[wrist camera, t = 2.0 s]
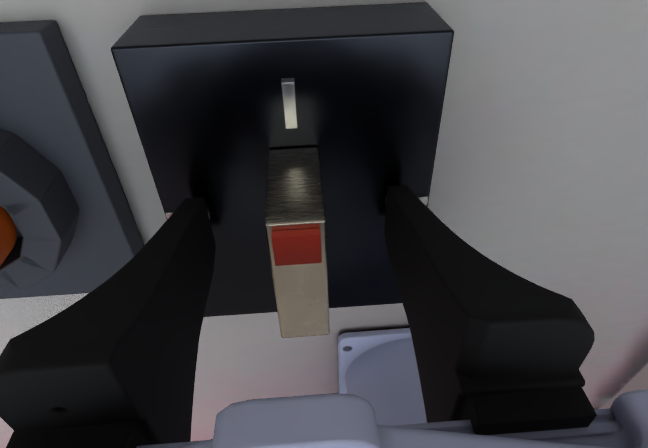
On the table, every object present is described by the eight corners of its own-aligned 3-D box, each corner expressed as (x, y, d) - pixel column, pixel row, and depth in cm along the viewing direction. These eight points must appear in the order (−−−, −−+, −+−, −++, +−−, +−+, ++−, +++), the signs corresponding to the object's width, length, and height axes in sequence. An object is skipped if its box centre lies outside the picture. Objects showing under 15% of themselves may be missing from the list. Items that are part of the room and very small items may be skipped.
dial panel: (399, 253, 21) (414, 305, 19) (208, 266, 21) (198, 321, 18) (427, 1, 14) (457, 31, 12) (138, 15, 14) (106, 49, 11)
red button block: (322, 255, 16) (330, 341, 14) (282, 257, 16) (281, 345, 14) (317, 146, 14) (326, 227, 11) (268, 149, 13) (264, 231, 11)
